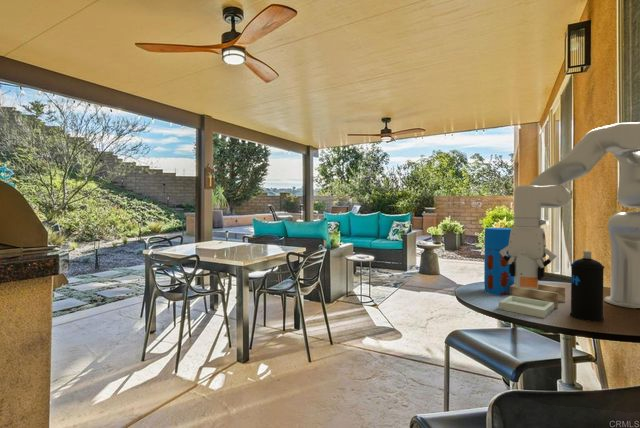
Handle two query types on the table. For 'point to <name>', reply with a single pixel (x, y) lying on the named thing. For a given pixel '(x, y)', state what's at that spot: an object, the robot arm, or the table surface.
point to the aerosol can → (587, 289)
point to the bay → (540, 293)
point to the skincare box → (526, 272)
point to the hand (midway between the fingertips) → (526, 277)
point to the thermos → (497, 261)
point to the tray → (527, 306)
